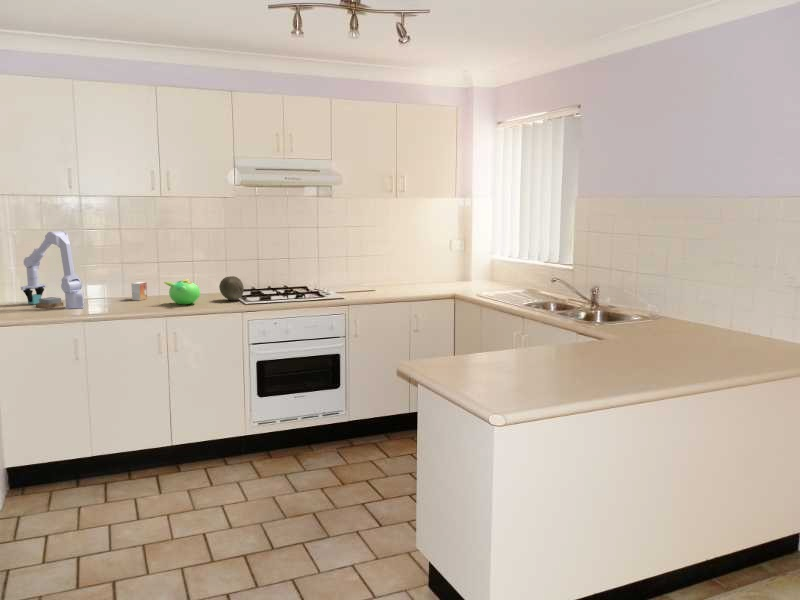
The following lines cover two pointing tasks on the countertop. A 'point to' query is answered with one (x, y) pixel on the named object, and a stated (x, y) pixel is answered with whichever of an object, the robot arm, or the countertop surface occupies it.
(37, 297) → the teal block
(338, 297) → the countertop surface
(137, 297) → the small box
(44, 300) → the grey top slab
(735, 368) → the countertop surface
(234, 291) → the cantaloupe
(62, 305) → the walnut base slab
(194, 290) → the toy bird
